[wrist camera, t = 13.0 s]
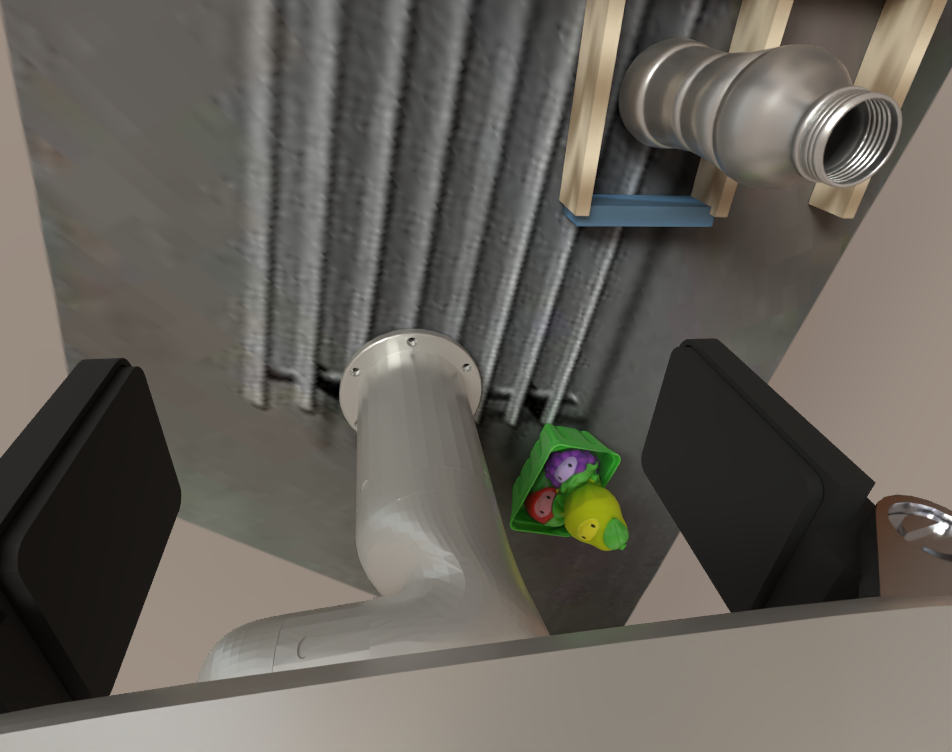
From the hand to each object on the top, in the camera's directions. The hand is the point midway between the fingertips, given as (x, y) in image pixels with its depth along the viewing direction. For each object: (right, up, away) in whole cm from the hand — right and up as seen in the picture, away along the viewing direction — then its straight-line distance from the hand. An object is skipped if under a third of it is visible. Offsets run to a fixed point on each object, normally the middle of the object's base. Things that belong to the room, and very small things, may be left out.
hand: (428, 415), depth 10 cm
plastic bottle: (+13, +21, +29) cm, 39 cm away
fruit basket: (+9, -8, +48) cm, 49 cm away
